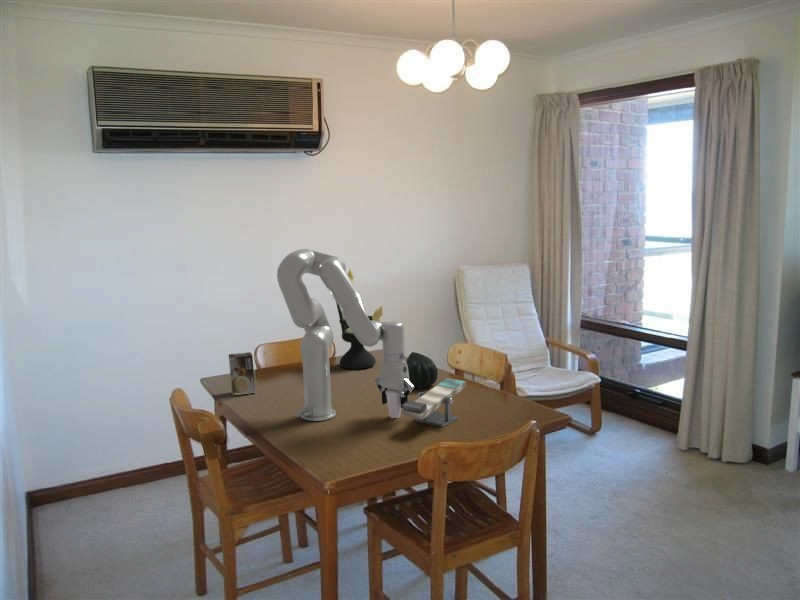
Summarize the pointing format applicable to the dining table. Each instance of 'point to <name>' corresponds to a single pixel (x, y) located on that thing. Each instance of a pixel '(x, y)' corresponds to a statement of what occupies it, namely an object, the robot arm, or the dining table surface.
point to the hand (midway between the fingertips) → (394, 404)
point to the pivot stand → (439, 414)
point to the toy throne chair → (356, 342)
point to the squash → (421, 370)
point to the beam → (432, 399)
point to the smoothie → (394, 402)
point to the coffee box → (241, 373)
